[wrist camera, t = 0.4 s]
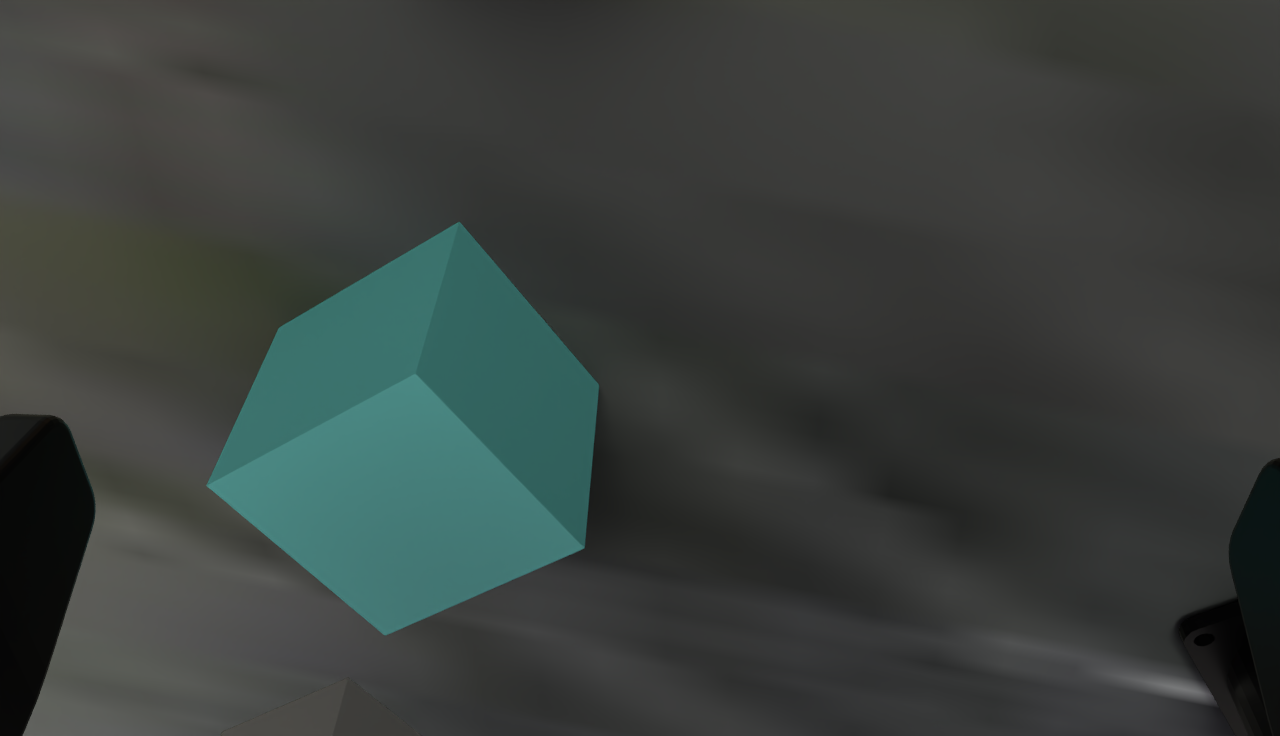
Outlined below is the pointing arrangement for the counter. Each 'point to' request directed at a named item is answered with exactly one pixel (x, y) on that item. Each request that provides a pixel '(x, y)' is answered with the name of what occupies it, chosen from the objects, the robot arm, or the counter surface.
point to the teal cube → (417, 437)
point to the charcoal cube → (327, 716)
